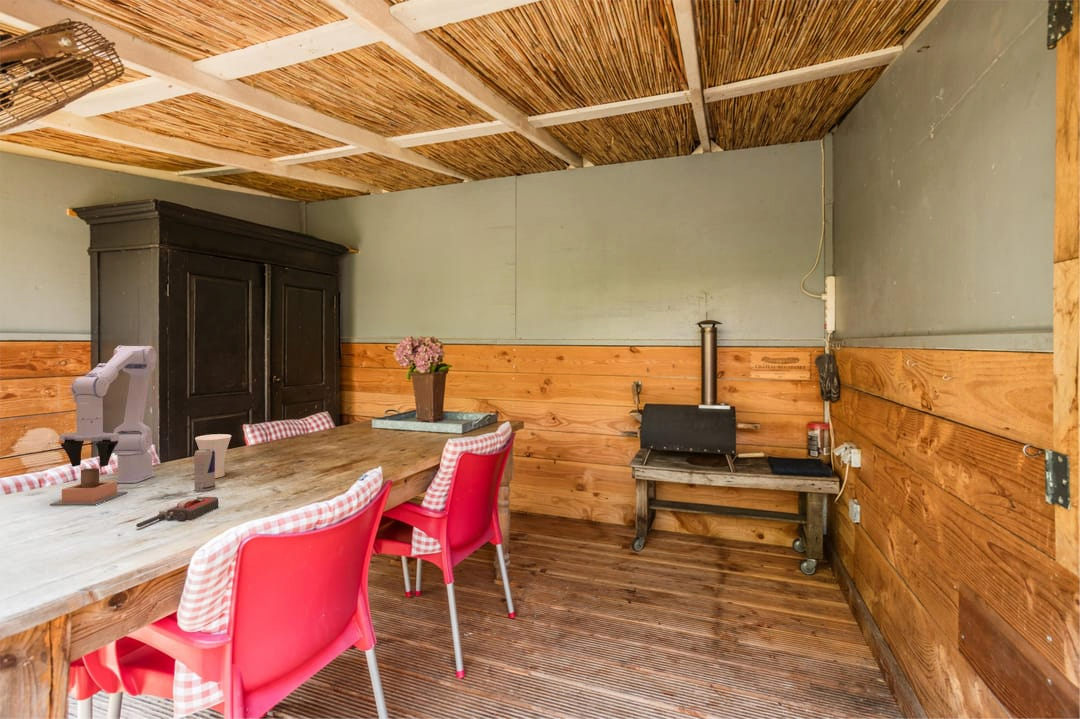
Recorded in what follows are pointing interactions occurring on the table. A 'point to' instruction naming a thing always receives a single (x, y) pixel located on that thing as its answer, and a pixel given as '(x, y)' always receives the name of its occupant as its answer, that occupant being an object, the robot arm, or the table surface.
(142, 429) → the robot arm
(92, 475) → the walnut peg
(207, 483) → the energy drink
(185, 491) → the table surface
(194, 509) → the walkie-talkie
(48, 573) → the table surface
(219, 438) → the cup
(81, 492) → the socket
